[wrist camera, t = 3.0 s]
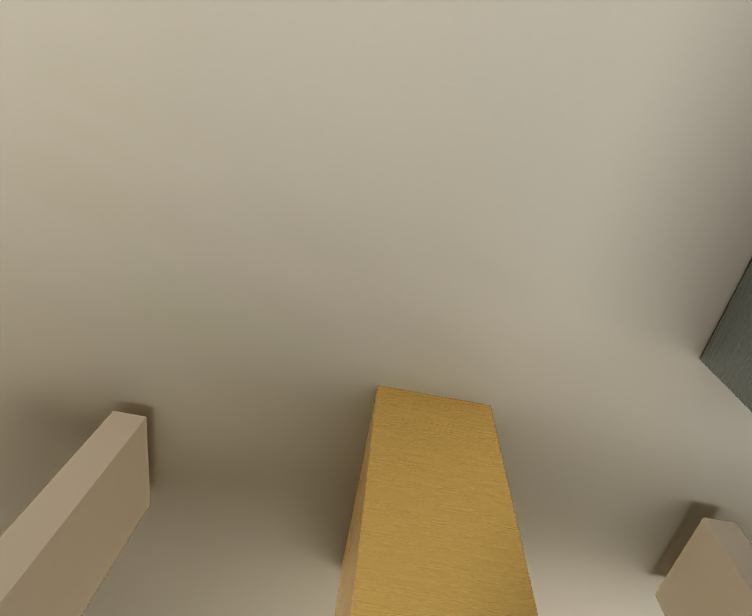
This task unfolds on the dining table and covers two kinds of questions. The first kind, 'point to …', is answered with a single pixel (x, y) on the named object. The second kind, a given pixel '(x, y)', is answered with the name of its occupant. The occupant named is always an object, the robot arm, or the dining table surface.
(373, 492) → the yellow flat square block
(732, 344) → the coin box
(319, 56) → the dining table surface
